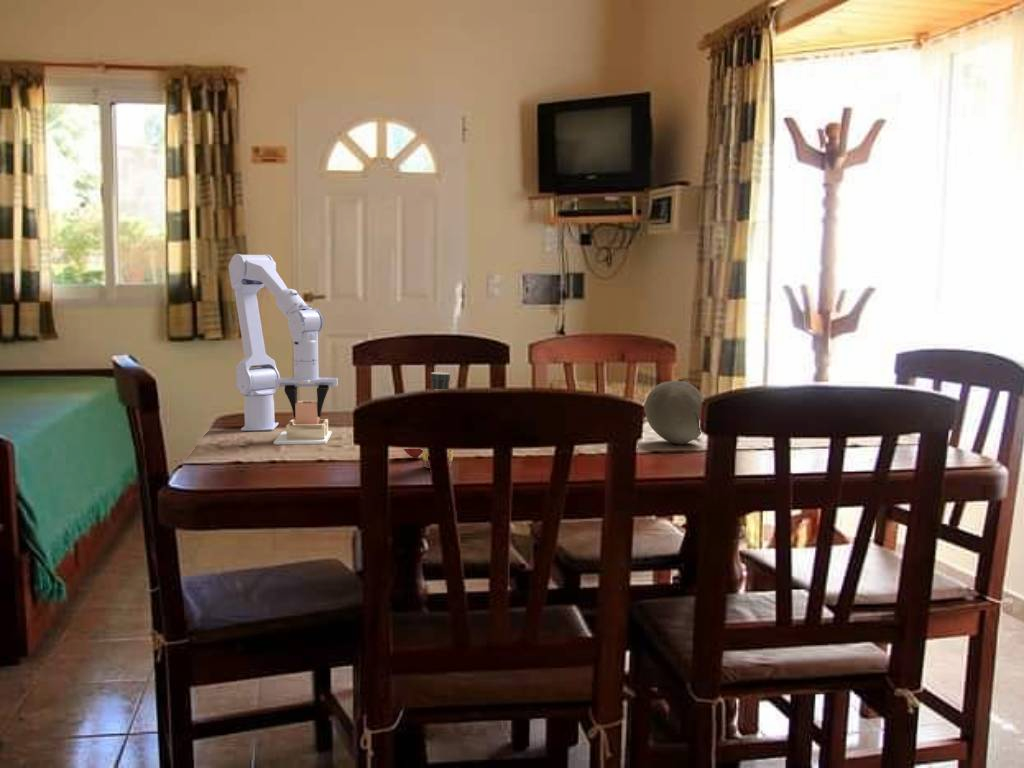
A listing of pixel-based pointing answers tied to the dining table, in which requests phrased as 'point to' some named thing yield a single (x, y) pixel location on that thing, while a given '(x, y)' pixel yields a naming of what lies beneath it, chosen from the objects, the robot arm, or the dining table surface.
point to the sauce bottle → (438, 382)
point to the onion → (414, 452)
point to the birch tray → (307, 430)
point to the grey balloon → (674, 411)
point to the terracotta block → (306, 412)
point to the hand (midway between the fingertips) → (307, 416)
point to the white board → (283, 440)
